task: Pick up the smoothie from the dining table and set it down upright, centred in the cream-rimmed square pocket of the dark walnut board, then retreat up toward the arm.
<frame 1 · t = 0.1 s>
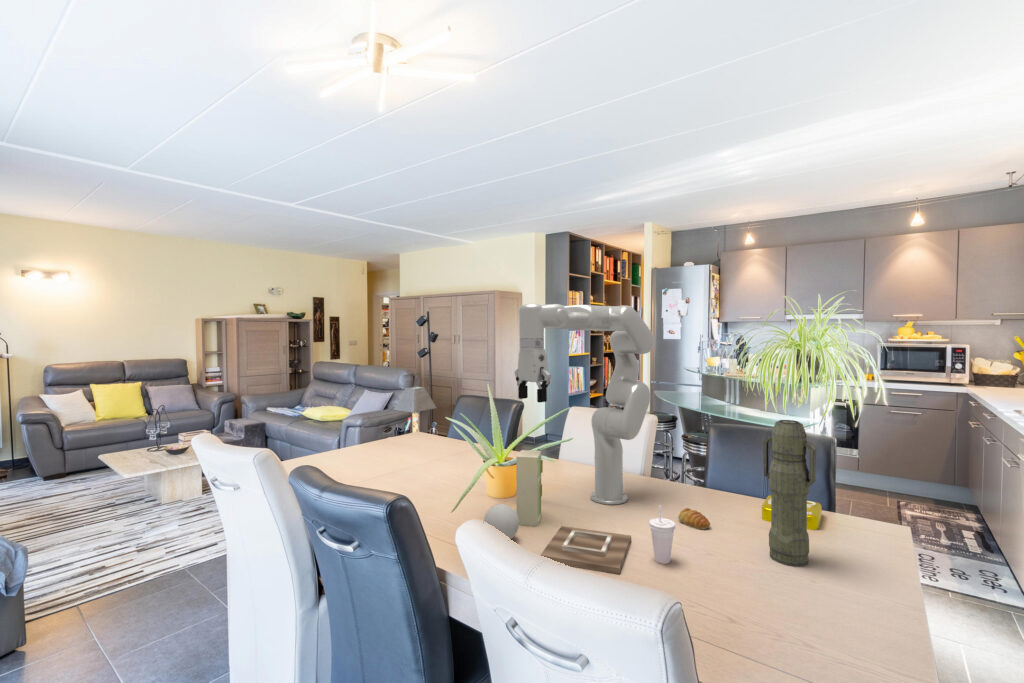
hand: (532, 400, 152), 37 cm above the table, tool pointing down, fingers open, 9 cm apart
smoothie: (662, 561, 126), on the table
ball: (501, 541, 138), on the table
toy refrigerator: (530, 521, 152), on the table
pastry: (694, 524, 149), on the table
thermos: (788, 559, 126), on the table
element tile: (791, 519, 153), on the table
walnut board: (587, 550, 132), on the table
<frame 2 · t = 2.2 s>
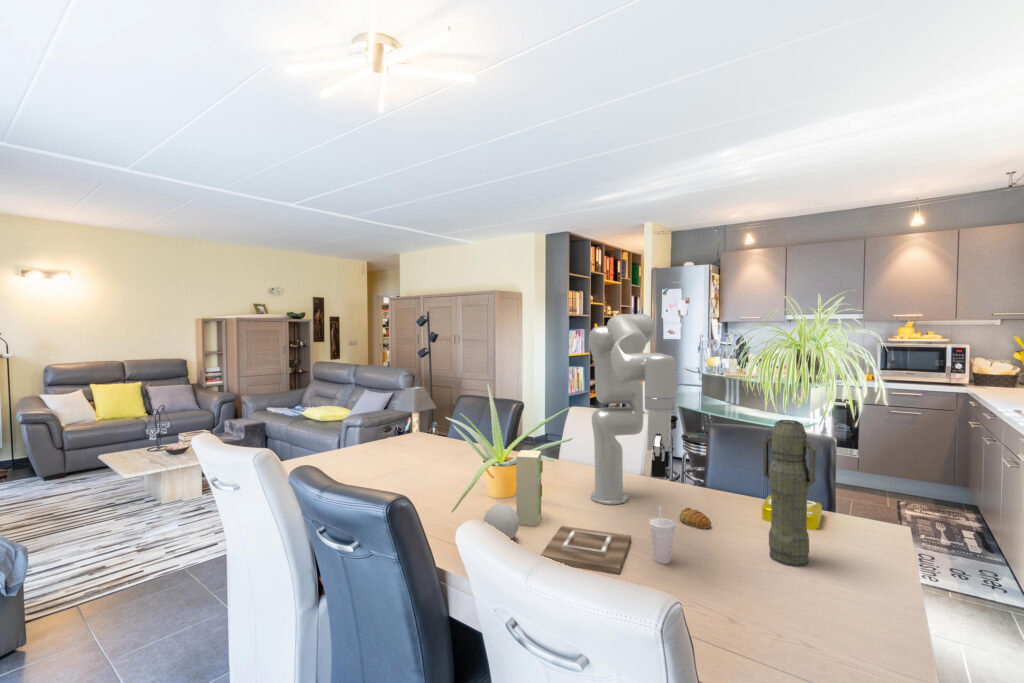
hand: (660, 471, 125), 23 cm above the table, tool pointing down, fingers open, 9 cm apart
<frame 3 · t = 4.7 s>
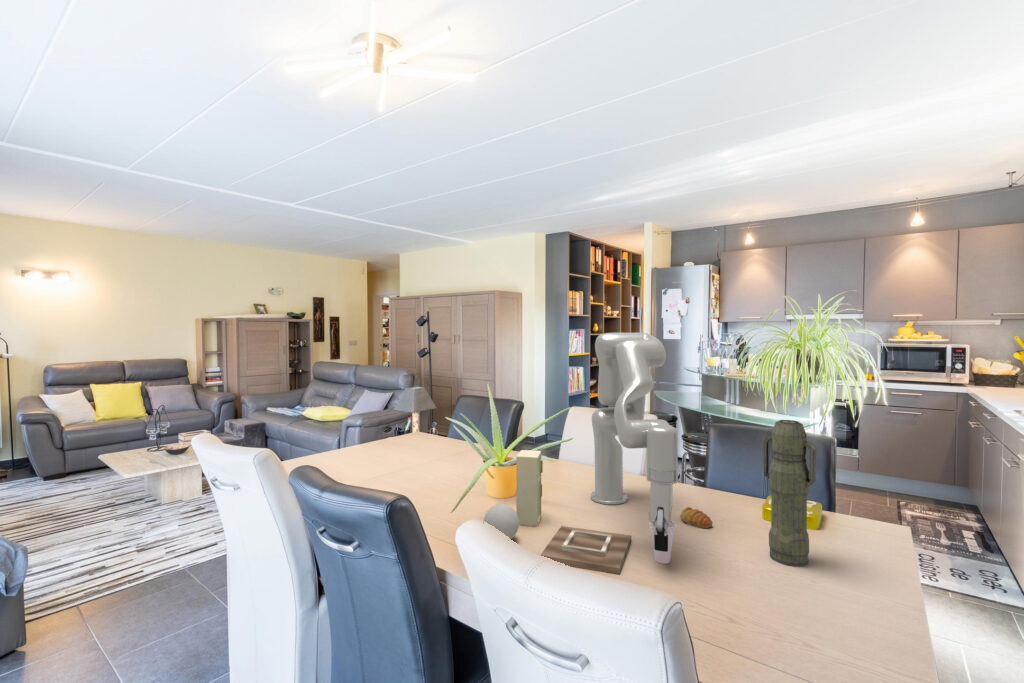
hand: (662, 544, 125), 4 cm above the table, tool pointing down, fingers closed on smoothie, 6 cm apart
smoothie: (662, 561, 126), on the table, touching gripper
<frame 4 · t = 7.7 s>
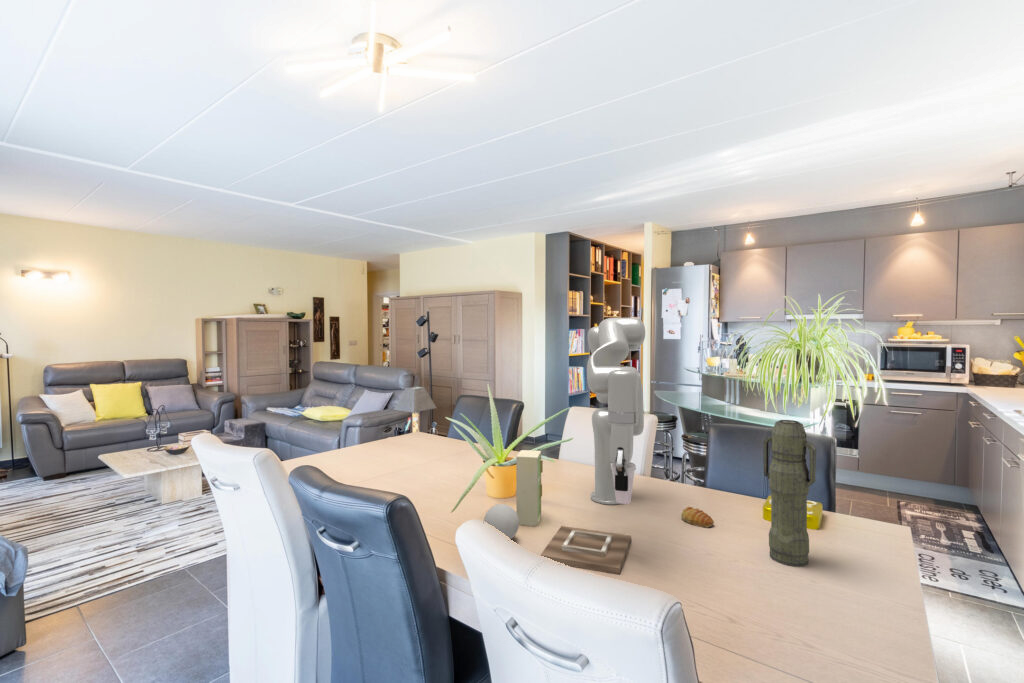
hand: (623, 485, 128), 18 cm above the table, tool pointing down, fingers closed on smoothie, 6 cm apart
smoothie: (623, 502, 128), point 14 cm above the table, touching gripper
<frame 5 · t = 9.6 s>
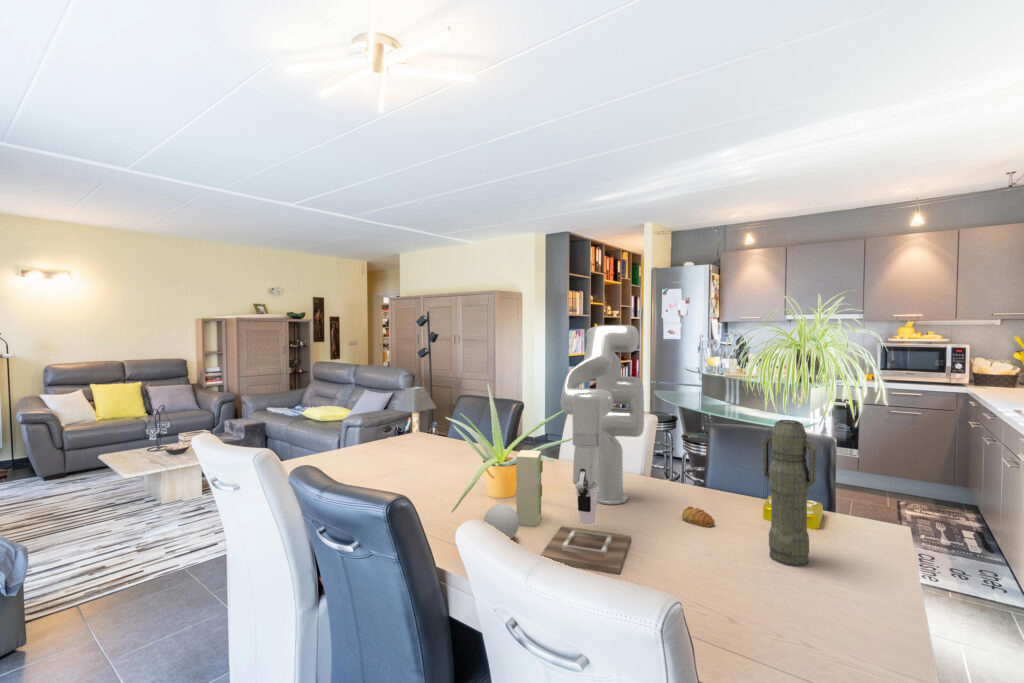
hand: (587, 506, 131), 12 cm above the table, tool pointing down, fingers closed on smoothie, 6 cm apart
smoothie: (587, 522, 131), point 8 cm above the table, touching gripper
when the fingers open (6 cm above the table, at t = 11.1 s): smoothie stays where it is, resting on walnut board.
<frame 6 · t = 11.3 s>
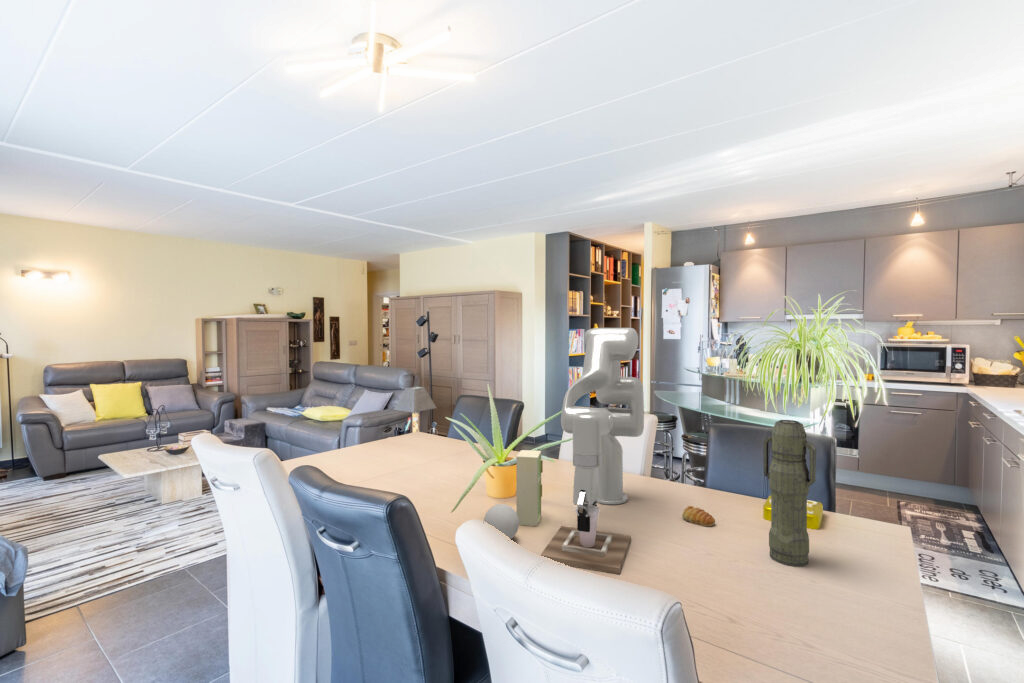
hand: (587, 524, 131), 7 cm above the table, tool pointing down, fingers open, 8 cm apart
smoothie: (587, 545, 132), point 1 cm above the table, touching walnut board
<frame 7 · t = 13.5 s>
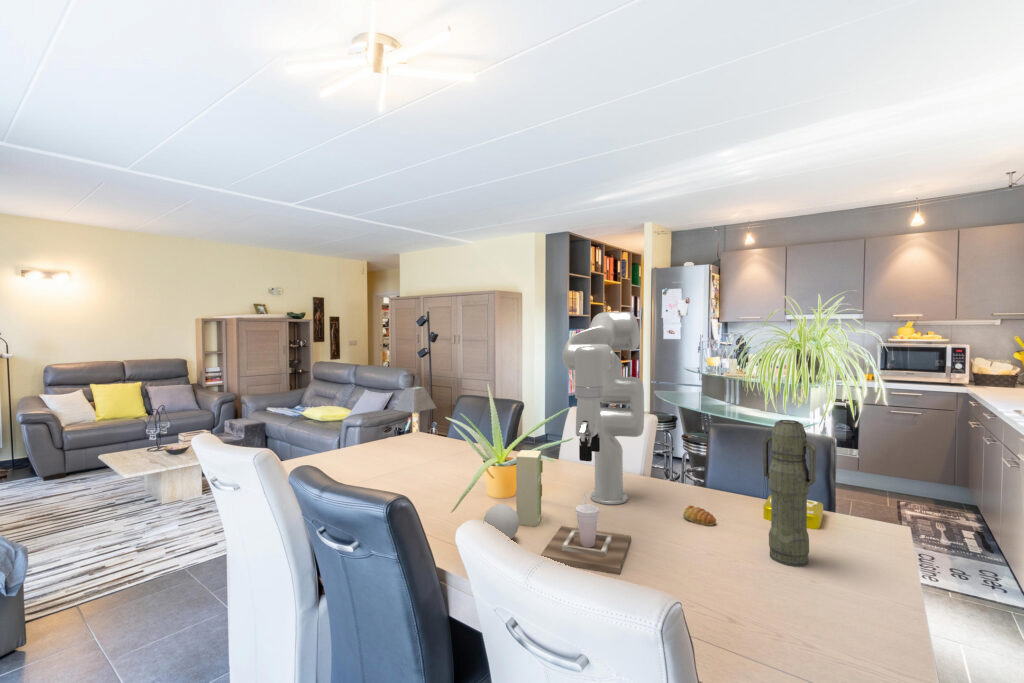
hand: (589, 455, 132), 25 cm above the table, tool pointing down, fingers open, 9 cm apart
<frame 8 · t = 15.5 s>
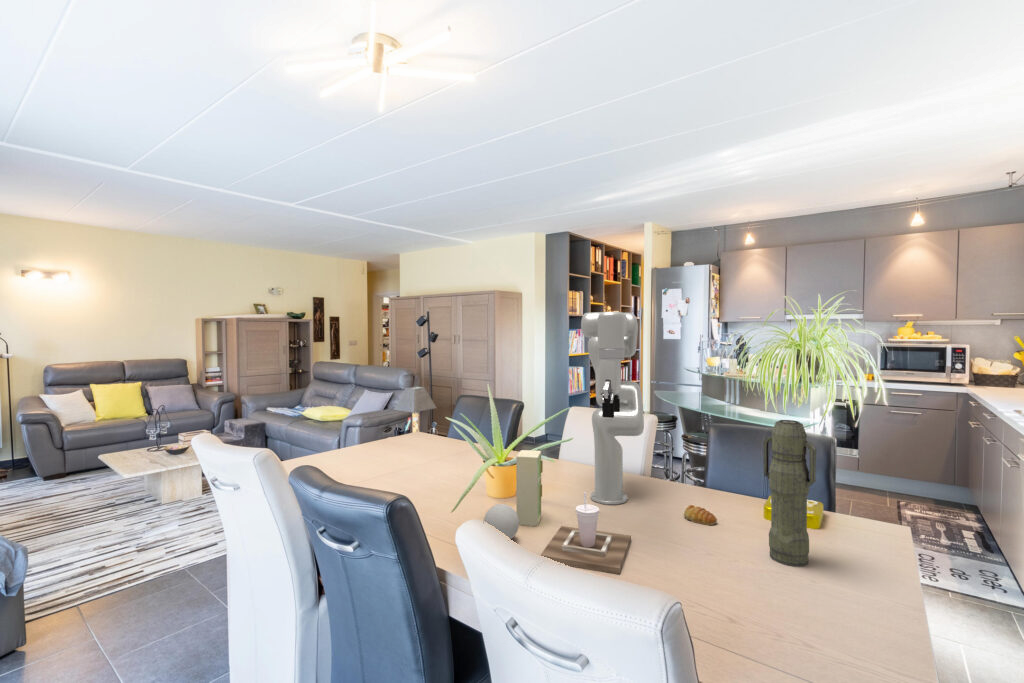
hand: (611, 414, 142), 34 cm above the table, tool pointing down, fingers open, 9 cm apart
at the end: smoothie 0.4 cm off-centre on the walnut board, point 1.3 cm above the walnut board's base; smoothie tilted 0°; the gripper is holding nothing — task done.
